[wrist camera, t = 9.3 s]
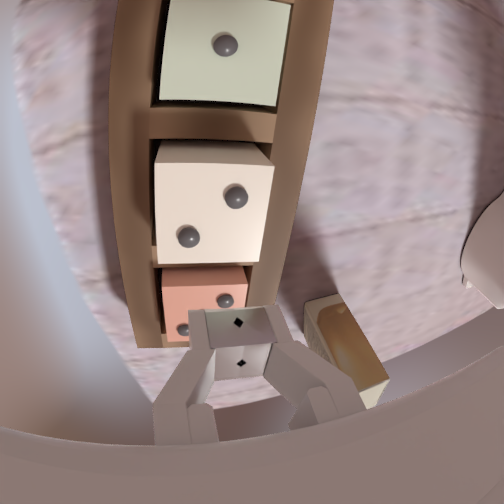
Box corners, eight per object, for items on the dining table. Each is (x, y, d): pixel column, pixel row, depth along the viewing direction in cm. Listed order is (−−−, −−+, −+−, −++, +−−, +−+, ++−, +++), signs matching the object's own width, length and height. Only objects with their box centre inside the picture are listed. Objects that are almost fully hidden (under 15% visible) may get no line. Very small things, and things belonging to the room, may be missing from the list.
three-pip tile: (235, 245, 25) (248, 286, 21) (229, 297, 28) (240, 339, 24) (163, 246, 23) (161, 288, 19) (167, 300, 27) (167, 343, 22)
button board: (309, -2, 14) (335, -13, 11) (255, 311, 31) (265, 341, 27) (136, -18, 11) (126, -37, 8) (139, 316, 28) (137, 347, 24)
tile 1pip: (265, 18, 15) (292, 4, 11) (254, 97, 18) (276, 106, 14) (174, 10, 13) (171, -10, 9) (165, 93, 17) (158, 99, 12)
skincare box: (334, 326, 35) (376, 407, 26) (302, 335, 35) (338, 421, 25) (340, 290, 32) (393, 379, 22) (303, 299, 31) (349, 396, 21)
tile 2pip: (253, 142, 19) (275, 167, 14) (242, 221, 22) (259, 263, 18) (161, 140, 17) (154, 164, 13) (161, 222, 20) (157, 266, 16)
